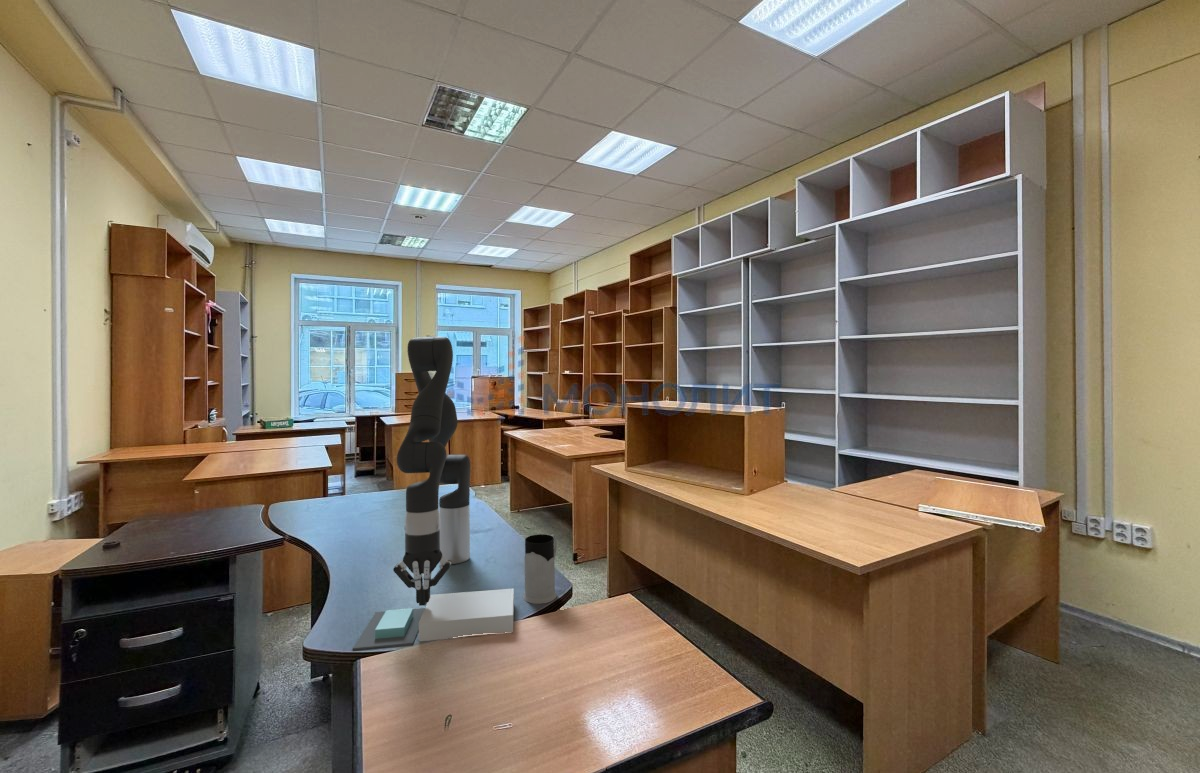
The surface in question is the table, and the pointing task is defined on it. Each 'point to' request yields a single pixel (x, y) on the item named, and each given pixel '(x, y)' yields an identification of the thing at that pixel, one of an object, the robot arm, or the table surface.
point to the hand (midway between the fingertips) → (423, 603)
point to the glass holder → (540, 568)
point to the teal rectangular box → (394, 623)
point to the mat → (369, 640)
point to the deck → (467, 614)
